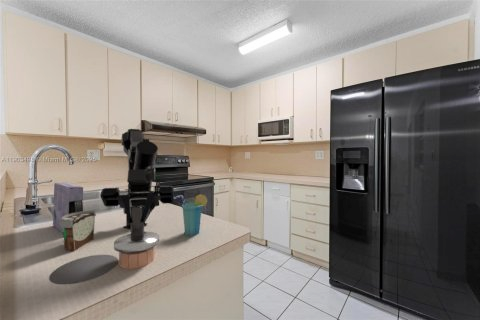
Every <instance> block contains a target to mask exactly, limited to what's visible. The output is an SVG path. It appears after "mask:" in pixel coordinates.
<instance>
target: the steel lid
mask: <svg viewBox="0 0 480 320" xmlns="http://www.w3.org/2000/svg"><path fill="white" fill-rule="evenodd" d="M143 215H144V206H143V205H136V206H132V207H131V229H130V233H126V234H124V235H122V236H120V237H117V239H115V240H114V241H113V250H114V251H116V252H118V253H119V252H123V253H132V252H139V251H143V250H147V249H149V248H152V247H154V246H155V247H156V246H157V245H158V244H159V243H160V235H159V233H157V232H153V231H145V226H144V223H143Z"/></svg>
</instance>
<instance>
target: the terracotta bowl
mask: <svg viewBox="0 0 480 320" xmlns="http://www.w3.org/2000/svg"><path fill="white" fill-rule="evenodd" d="M155 247H156V245H155V246H154V247H152V248H149V249H147V250H143V251H139V252H132V253H123V252H118V265H119V267H121V268H122V269H126V270H132V269H139V268H143V267H145V266H146V267H147V266H148V265H150V264H151V263H153V262H154V260H155V257H156V256H155V254H156V252H155V251H156V250H155V249H156V248H155Z"/></svg>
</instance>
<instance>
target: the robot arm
mask: <svg viewBox="0 0 480 320" xmlns="http://www.w3.org/2000/svg"><path fill="white" fill-rule="evenodd" d="M142 131H143V130H142V129H140V128H139V129H138V128H129V129H127V131H125V132H124V133H122V134H121V140H120V141H121V143H120V144H121V146H123V147H122V149H123V152H124V153H125V155H127V163H128V164H127V165H128V166H127V168H128V170H127V181H126V182H127V190H126V189H125V190H120V188H119V187H104V188H103V189H102V190H101V192H100V199H101V200H102V201H101V202H102V203H103V206H105V207H108V208H109V207H119V208H121V209H123V214H124V215H126V219H125V220H126V221H125V222H126V223H125V225H123V226H122V227H123V229H128V230H131V207H132V206H136V205H143V206H144V215H143V223H144V227H145V226H147V225H148V223H147V222H146V221H147V220H148V218H149V216H150V214H151V213H152V211H153V210H154V209H155V208H156V207H159V206H160V202H161V204H164V205H165V204H173V203H174V202H175V201H174V200H175V199H174V197H175V194H174V189H175V188H174V186H173V185H159V190H155V191H154V190H152V184H153V181H156V168H155V167H154V165H155V162H156V159H157V156H158V150H159V148H158V146H157V145H156V144H155V143H154V142H153V141H150V139H149V138H145V135H144V134H143V132H142Z"/></svg>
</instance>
